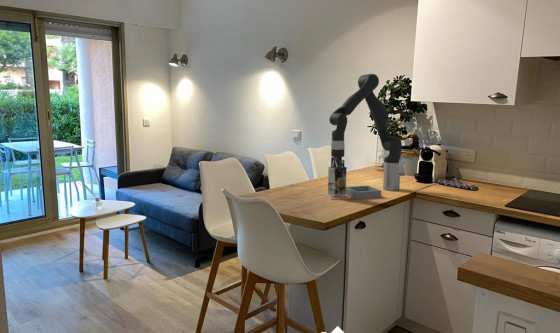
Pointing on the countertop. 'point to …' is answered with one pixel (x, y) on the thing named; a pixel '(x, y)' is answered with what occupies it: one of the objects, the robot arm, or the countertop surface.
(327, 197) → the coaster
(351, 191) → the grey square tray
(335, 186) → the coffee box
